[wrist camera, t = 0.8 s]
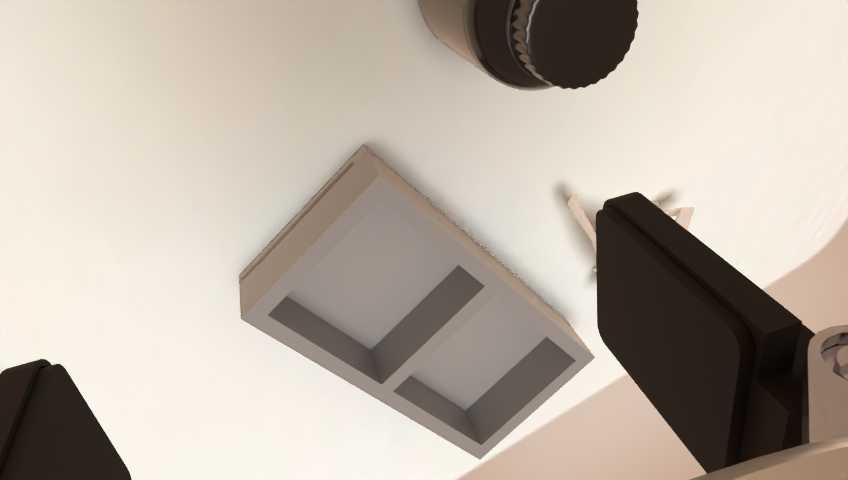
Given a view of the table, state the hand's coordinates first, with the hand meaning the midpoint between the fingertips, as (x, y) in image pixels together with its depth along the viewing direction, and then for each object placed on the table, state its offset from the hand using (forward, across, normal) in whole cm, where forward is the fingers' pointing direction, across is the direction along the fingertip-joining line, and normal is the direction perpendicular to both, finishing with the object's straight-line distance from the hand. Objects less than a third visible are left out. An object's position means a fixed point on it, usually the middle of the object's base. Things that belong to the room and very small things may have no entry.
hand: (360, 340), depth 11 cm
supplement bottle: (+26, -11, 0) cm, 28 cm away
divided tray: (+26, -4, +19) cm, 32 cm away
